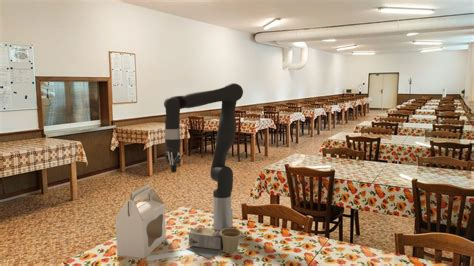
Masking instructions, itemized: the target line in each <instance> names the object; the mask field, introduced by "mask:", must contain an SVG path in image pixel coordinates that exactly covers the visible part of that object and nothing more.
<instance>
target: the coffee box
mask: <svg viewBox="0 0 474 266" xmlns="http://www.w3.org/2000/svg"><path fill="white" fill-rule="evenodd" d="M220 232H221V230H217V229H214V228H210V227H209V228H207V227H200V226H195V227H194V228H193V229H191V230H190V231H189V232H188V246H189V247H191V246H197V247H204V248H210V249H217V250H221V251H223V240H222V236H221V233H220Z"/></svg>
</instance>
